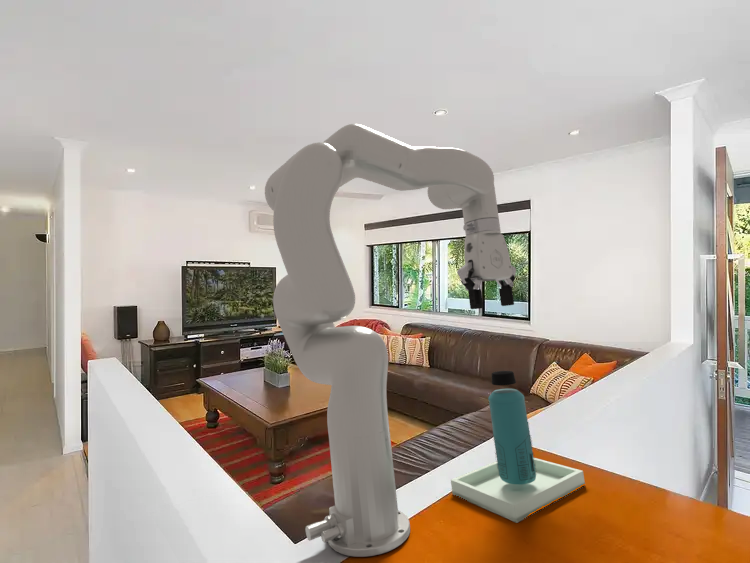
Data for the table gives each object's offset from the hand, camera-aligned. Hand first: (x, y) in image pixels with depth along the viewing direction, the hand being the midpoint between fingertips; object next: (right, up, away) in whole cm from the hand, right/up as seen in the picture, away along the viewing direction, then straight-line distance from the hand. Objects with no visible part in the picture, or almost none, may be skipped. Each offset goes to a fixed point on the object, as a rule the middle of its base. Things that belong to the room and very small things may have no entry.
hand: (492, 307), depth 88 cm
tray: (-1, -31, -17) cm, 36 cm away
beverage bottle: (0, -31, -17) cm, 35 cm away
